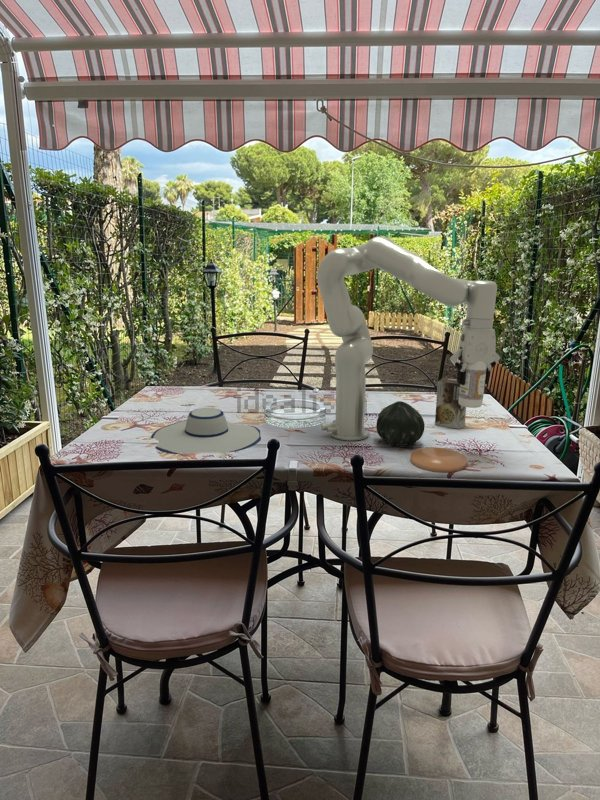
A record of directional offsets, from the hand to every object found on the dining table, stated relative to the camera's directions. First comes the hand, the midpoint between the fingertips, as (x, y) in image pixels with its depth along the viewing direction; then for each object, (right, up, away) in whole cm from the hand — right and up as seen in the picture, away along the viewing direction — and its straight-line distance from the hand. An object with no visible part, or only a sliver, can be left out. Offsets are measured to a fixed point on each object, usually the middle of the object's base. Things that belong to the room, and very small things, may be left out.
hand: (472, 383), depth 165 cm
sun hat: (-82, -18, +17) cm, 86 cm away
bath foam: (0, -7, +2) cm, 7 cm away
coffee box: (+1, -14, +30) cm, 33 cm away
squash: (-20, -19, +11) cm, 30 cm away
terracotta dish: (-11, -23, -5) cm, 26 cm away
